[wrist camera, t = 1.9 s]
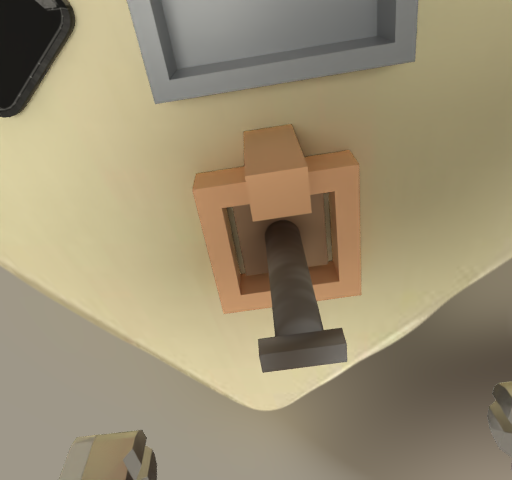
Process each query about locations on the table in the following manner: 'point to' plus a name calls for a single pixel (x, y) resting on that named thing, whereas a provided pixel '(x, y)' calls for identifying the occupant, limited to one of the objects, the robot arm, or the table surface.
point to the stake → (291, 286)
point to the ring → (281, 213)
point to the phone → (29, 47)
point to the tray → (266, 41)
